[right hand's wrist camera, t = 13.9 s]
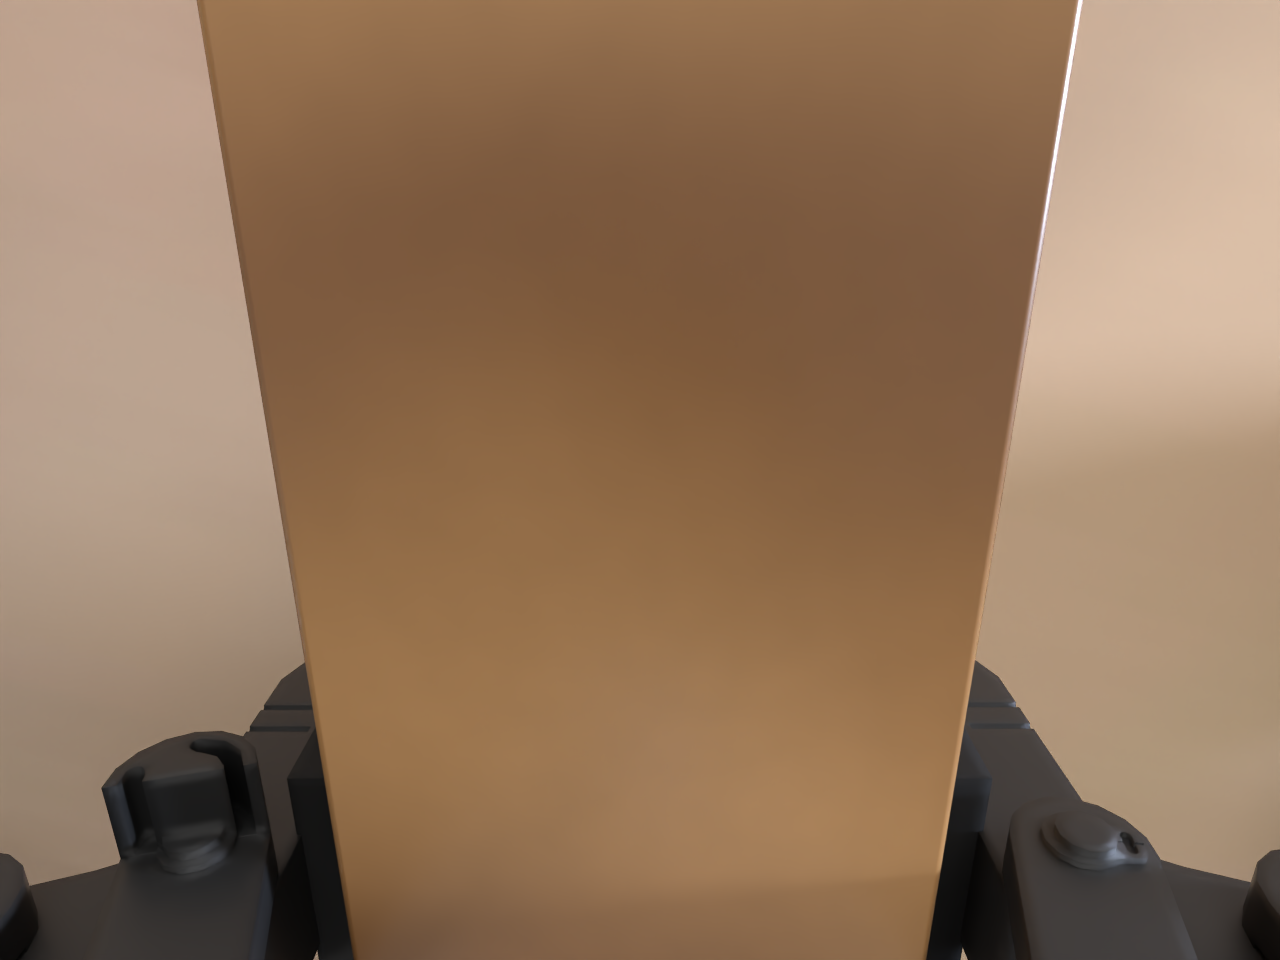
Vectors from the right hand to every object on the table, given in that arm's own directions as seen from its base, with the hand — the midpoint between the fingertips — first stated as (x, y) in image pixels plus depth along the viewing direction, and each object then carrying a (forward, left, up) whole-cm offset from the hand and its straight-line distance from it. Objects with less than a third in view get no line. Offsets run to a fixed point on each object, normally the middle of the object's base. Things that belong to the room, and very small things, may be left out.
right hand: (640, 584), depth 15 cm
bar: (+7, +7, -1) cm, 10 cm away
